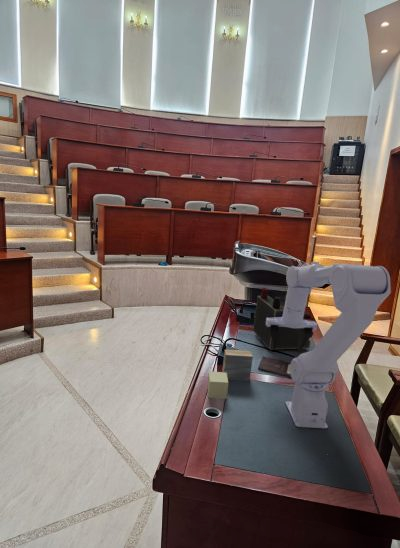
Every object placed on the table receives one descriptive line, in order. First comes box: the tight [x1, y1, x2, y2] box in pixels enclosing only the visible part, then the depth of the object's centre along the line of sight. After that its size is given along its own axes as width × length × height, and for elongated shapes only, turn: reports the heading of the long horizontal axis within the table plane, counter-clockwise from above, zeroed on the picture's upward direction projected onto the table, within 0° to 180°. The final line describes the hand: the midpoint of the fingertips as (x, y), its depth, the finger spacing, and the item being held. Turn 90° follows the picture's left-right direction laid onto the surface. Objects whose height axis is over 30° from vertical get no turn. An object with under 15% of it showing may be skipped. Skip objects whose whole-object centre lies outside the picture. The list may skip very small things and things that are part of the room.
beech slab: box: [222, 349, 254, 382], centre depth 99 cm, size 4×8×8 cm, turn 92°
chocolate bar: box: [257, 355, 292, 379], centre depth 107 cm, size 9×1×18 cm
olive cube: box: [206, 371, 229, 400], centre depth 90 cm, size 5×5×5 cm
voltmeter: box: [252, 287, 312, 351], centre depth 125 cm, size 16×16×20 cm
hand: (286, 348), depth 98 cm, fingers open, 7 cm apart
